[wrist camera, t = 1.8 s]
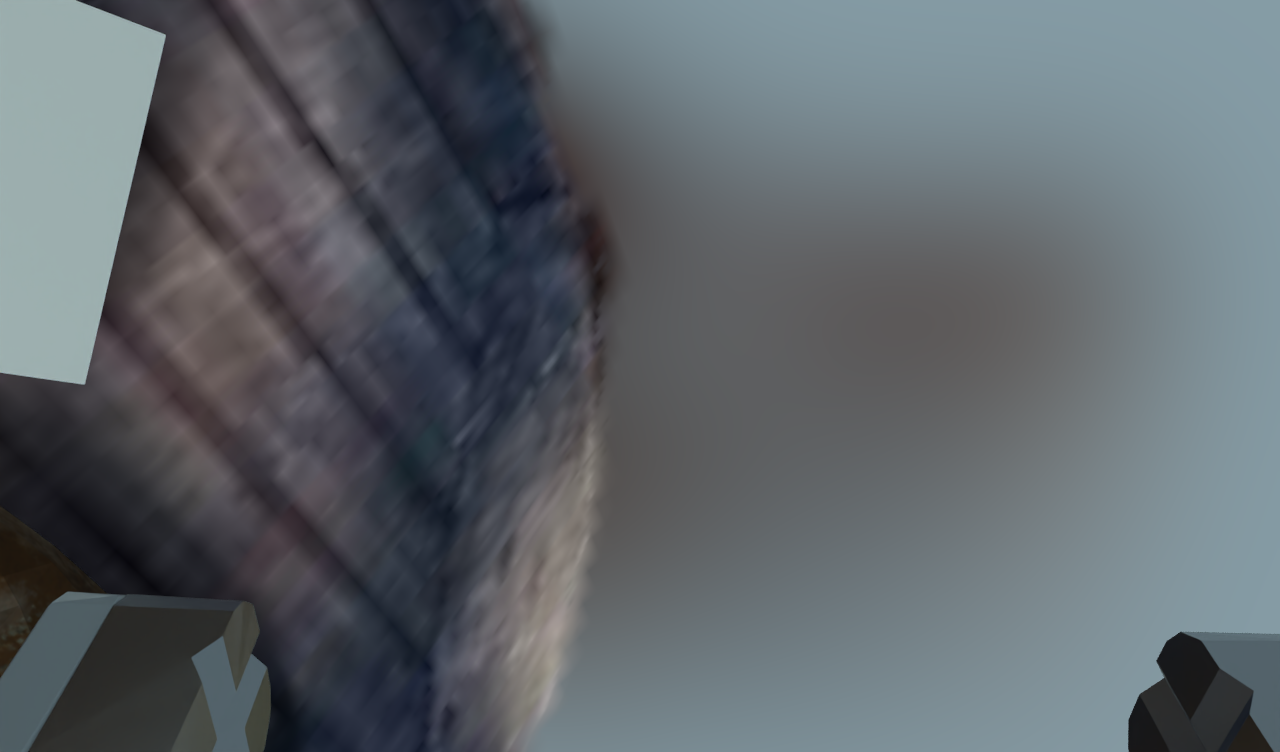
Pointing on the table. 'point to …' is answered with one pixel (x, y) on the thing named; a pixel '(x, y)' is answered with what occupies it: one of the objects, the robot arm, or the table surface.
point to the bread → (30, 582)
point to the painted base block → (65, 173)
